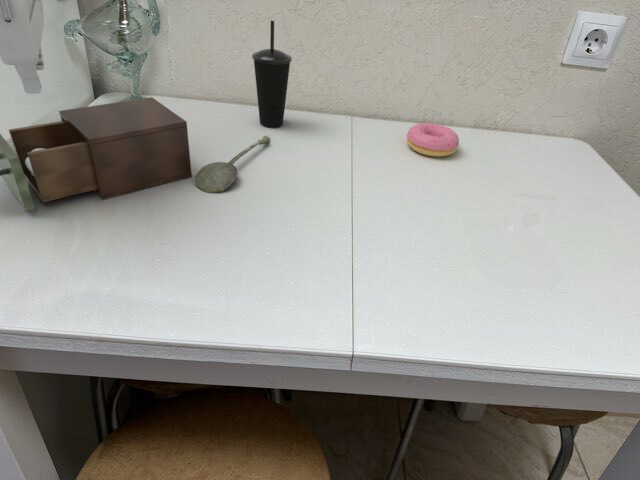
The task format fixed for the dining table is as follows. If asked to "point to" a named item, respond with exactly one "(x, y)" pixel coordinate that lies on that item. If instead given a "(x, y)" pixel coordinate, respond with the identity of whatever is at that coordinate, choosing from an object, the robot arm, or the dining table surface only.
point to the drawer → (47, 162)
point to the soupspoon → (222, 171)
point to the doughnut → (432, 139)
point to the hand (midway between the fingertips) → (35, 79)
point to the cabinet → (132, 144)
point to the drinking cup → (271, 83)
